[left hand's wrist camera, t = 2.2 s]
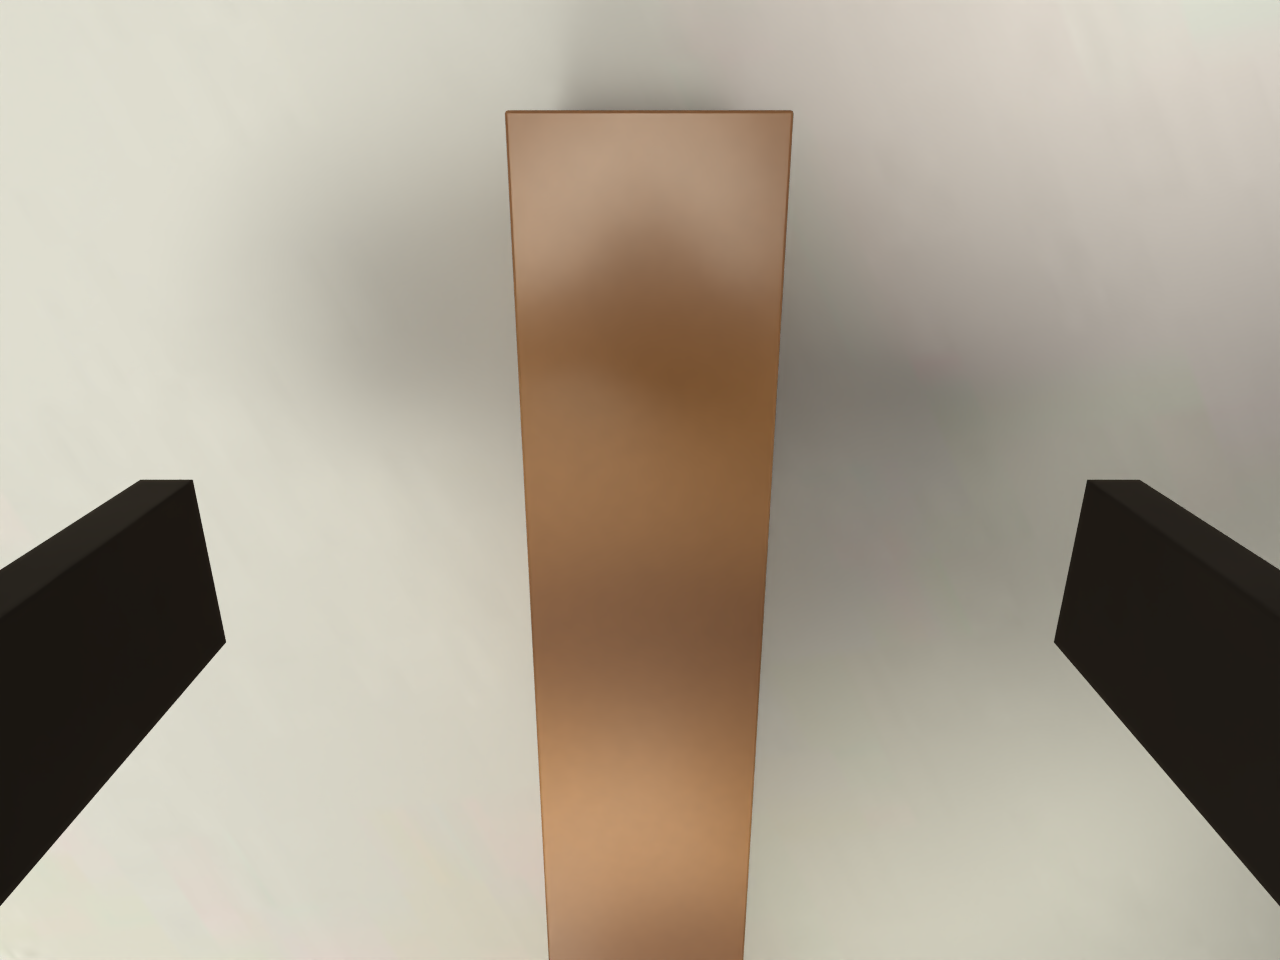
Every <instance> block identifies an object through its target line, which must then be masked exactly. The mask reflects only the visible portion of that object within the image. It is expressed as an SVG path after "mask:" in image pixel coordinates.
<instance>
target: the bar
mask: <svg viewBox="0 0 1280 960" xmlns="http://www.w3.org/2000/svg"><path fill="white" fill-rule="evenodd" d="M505 124H506V143H507V162H508V181H509V201H510V220H511V239H512V259H513V278H514V297H515V316H516V336H517V355H518V374H519V393H520V413H521V432H522V451H523V471H524V490H525V509H526V528H527V548H528V567H529V586H530V606H531V625H532V644H533V663H534V683H535V702H536V721H537V740H538V760H539V779H540V798H541V818H542V837H543V856H544V875H545V895H546V914H547V933H548V953H549V960H743V955H744V939H745V922H746V905H747V888H748V871H749V854H750V837H751V820H752V804H753V787H754V770H755V753H756V736H757V719H758V702H759V685H760V669H761V652H762V635H763V618H764V601H765V584H766V567H767V550H768V534H769V517H770V500H771V483H772V466H773V449H774V432H775V415H776V399H777V382H778V365H779V348H780V331H781V314H782V297H783V280H784V264H785V247H786V230H787V213H788V196H789V179H790V162H791V145H792V129H793V111H791V110H508V111H506V112H505Z"/></svg>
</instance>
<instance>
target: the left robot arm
mask: <svg viewBox="0 0 1280 960" xmlns="http://www.w3.org/2000/svg"><path fill="white" fill-rule="evenodd" d="M225 643H226V639H225V635H224V630H223V625H222V620H221V615H220V610H219V605H218V601H217V596H216V591H215V586H214V581H213V576H212V571H211V566H210V562H209V557H208V552H207V547H206V542H205V537H204V532H203V528H202V523H201V518H200V513H199V508H198V503H197V498H196V494H195V489H194V484H193V480H139V481H138V482H136V483H135V484H133V485H132V486H130V487H129V488H127V489H125V490H124V491H122V492H121V493H119V494H118V495H116V496H115V497H113V498H111V499H110V500H108V501H107V502H105V503H104V504H102V505H101V506H99V507H97V508H96V509H94V510H93V511H91V512H90V513H88V514H87V515H85V516H83V517H82V518H80V519H79V520H77V521H76V522H74V523H73V524H71V525H69V526H68V527H66V528H65V529H63V530H62V531H60V532H59V533H57V534H55V535H54V536H52V537H51V538H49V539H48V540H46V541H45V542H43V543H42V544H40V545H38V546H37V547H35V548H34V549H32V550H31V551H29V552H28V553H26V554H24V555H23V556H21V557H20V558H18V559H17V560H15V561H14V562H12V563H10V564H9V565H7V566H6V567H4V568H3V569H1V570H0V906H1V905H2V903H3V902H4V901H5V900H6V899H7V898H8V896H9V895H10V894H11V893H12V892H13V891H14V889H15V888H16V887H17V886H18V885H19V884H20V882H21V881H22V880H23V879H24V878H25V877H26V875H27V874H28V873H29V872H30V871H31V870H32V868H33V867H34V866H35V865H36V864H37V863H38V861H39V860H40V859H41V858H42V857H43V855H44V854H45V853H46V852H47V851H48V850H49V848H50V847H51V846H52V845H53V844H54V843H55V841H56V840H57V839H58V838H59V837H60V836H61V834H62V833H63V832H64V831H65V830H66V829H67V827H68V826H69V825H70V824H71V823H72V822H73V820H74V819H75V818H76V817H77V816H78V815H79V813H80V812H81V811H82V810H83V809H84V808H85V806H86V805H87V804H88V803H89V802H90V801H91V799H92V798H93V797H94V796H95V795H96V794H97V792H98V791H99V790H100V789H101V788H102V787H103V785H104V784H105V783H106V782H107V781H108V780H109V778H110V777H111V776H112V775H113V774H114V773H115V771H116V770H117V769H118V768H119V767H120V766H121V764H122V763H123V762H124V761H125V760H126V758H127V757H128V756H129V755H130V754H131V753H132V751H133V750H134V749H135V748H136V747H137V746H138V744H139V743H140V742H141V741H142V740H143V739H144V737H145V736H146V735H147V734H148V733H149V732H150V730H151V729H152V728H153V727H154V726H155V725H156V723H157V722H158V721H159V720H160V719H161V718H162V716H163V715H164V714H165V713H166V712H167V711H168V709H169V708H170V707H171V706H172V705H173V704H174V702H175V701H176V700H177V699H178V698H179V697H180V695H181V694H182V693H183V692H184V691H185V690H186V688H187V687H188V686H189V685H190V684H191V683H192V681H193V680H194V679H195V678H196V677H197V676H198V674H199V673H200V672H201V671H202V670H203V669H204V667H205V666H206V665H207V664H208V663H209V662H210V660H211V659H212V658H213V657H214V656H215V654H216V653H217V652H218V651H219V650H220V649H221V647H222V646H223V645H224V644H225ZM1054 643H1055V644H1056V645H1057V646H1058V647H1059V649H1060V650H1061V651H1062V652H1063V653H1064V654H1065V656H1066V657H1067V658H1068V659H1069V660H1070V662H1071V663H1072V664H1073V665H1074V666H1075V667H1076V669H1077V670H1078V671H1079V672H1080V673H1081V674H1082V676H1083V677H1084V678H1085V679H1086V680H1087V681H1088V683H1089V684H1090V685H1091V686H1092V687H1093V688H1094V690H1095V691H1096V692H1097V693H1098V694H1099V695H1100V697H1101V698H1102V699H1103V700H1104V701H1105V702H1106V704H1107V705H1108V706H1109V707H1110V708H1111V709H1112V711H1113V712H1114V713H1115V714H1116V715H1117V716H1118V718H1119V719H1120V720H1121V721H1122V722H1123V723H1124V725H1125V726H1126V727H1127V728H1128V729H1129V730H1130V732H1131V733H1132V734H1133V735H1134V736H1135V737H1136V739H1137V740H1138V741H1139V742H1140V743H1141V744H1142V746H1143V747H1144V748H1145V749H1146V750H1147V751H1148V753H1149V754H1150V755H1151V756H1152V757H1153V759H1154V760H1155V761H1156V762H1157V763H1158V764H1159V766H1160V767H1161V768H1162V769H1163V770H1164V771H1165V773H1166V774H1167V775H1168V776H1169V777H1170V778H1171V780H1172V781H1173V782H1174V783H1175V784H1176V785H1177V787H1178V788H1179V789H1180V790H1181V791H1182V792H1183V794H1184V795H1185V796H1186V797H1187V798H1188V799H1189V801H1190V802H1191V803H1192V804H1193V805H1194V806H1195V808H1196V809H1197V810H1198V811H1199V812H1200V813H1201V815H1202V816H1203V817H1204V818H1205V819H1206V820H1207V822H1208V823H1209V824H1210V825H1211V826H1212V827H1213V829H1214V830H1215V831H1216V832H1217V833H1218V834H1219V836H1220V837H1221V838H1222V839H1223V840H1224V841H1225V843H1226V844H1227V845H1228V846H1229V847H1230V848H1231V850H1232V851H1233V852H1234V853H1235V854H1236V855H1237V857H1238V858H1239V859H1240V860H1241V861H1242V863H1243V864H1244V865H1245V866H1246V867H1247V868H1248V870H1249V871H1250V872H1251V873H1252V874H1253V875H1254V877H1255V878H1256V879H1257V880H1258V881H1259V882H1260V884H1261V885H1262V886H1263V887H1264V888H1265V889H1266V891H1267V892H1268V893H1269V894H1270V895H1271V896H1272V898H1273V899H1274V900H1275V901H1276V902H1277V903H1278V905H1279V906H1280V570H1279V569H1277V568H1276V567H1274V566H1273V565H1271V564H1270V563H1268V562H1266V561H1265V560H1263V559H1262V558H1260V557H1259V556H1257V555H1256V554H1254V553H1252V552H1251V551H1249V550H1248V549H1246V548H1245V547H1243V546H1242V545H1240V544H1238V543H1237V542H1235V541H1234V540H1232V539H1231V538H1229V537H1228V536H1226V535H1225V534H1223V533H1221V532H1220V531H1218V530H1217V529H1215V528H1214V527H1212V526H1211V525H1209V524H1207V523H1206V522H1204V521H1203V520H1201V519H1200V518H1198V517H1197V516H1195V515H1193V514H1192V513H1190V512H1189V511H1187V510H1186V509H1184V508H1183V507H1181V506H1179V505H1178V504H1176V503H1175V502H1173V501H1172V500H1170V499H1169V498H1167V497H1165V496H1164V495H1162V494H1161V493H1159V492H1158V491H1156V490H1155V489H1153V488H1151V487H1150V486H1148V485H1147V484H1145V483H1144V482H1142V481H1141V480H1087V484H1086V489H1085V494H1084V498H1083V503H1082V508H1081V513H1080V518H1079V523H1078V528H1077V532H1076V537H1075V542H1074V547H1073V552H1072V557H1071V562H1070V566H1069V571H1068V576H1067V581H1066V586H1065V591H1064V596H1063V601H1062V605H1061V610H1060V615H1059V620H1058V625H1057V630H1056V635H1055V639H1054Z"/></svg>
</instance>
